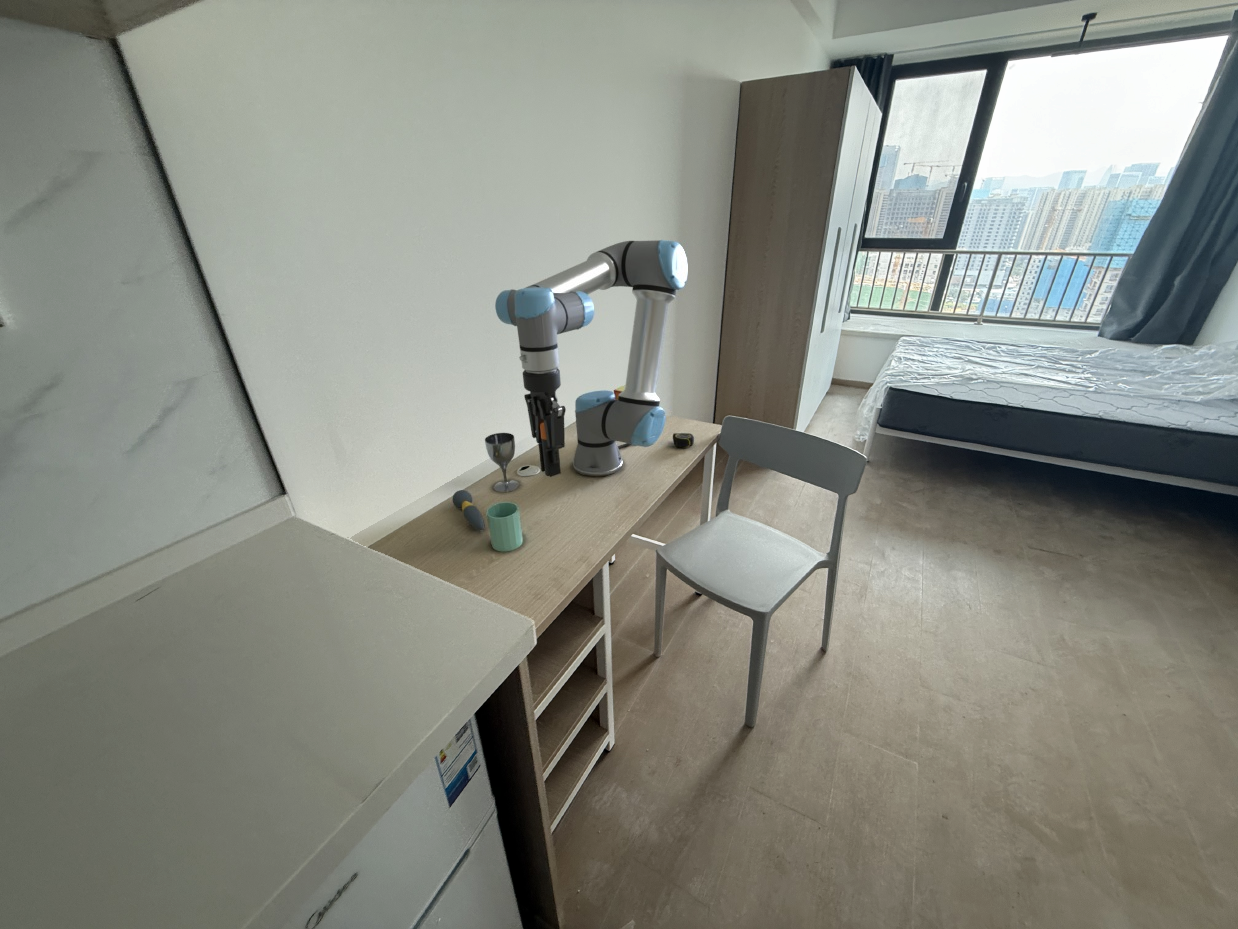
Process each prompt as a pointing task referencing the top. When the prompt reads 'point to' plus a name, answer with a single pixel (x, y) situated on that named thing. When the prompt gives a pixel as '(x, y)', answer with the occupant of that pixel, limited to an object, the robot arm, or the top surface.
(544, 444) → the marker
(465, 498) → the paintbrush
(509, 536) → the green pen cup
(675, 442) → the tape measure
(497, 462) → the wine glass
